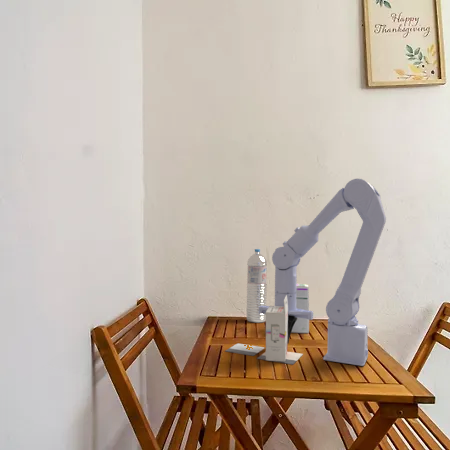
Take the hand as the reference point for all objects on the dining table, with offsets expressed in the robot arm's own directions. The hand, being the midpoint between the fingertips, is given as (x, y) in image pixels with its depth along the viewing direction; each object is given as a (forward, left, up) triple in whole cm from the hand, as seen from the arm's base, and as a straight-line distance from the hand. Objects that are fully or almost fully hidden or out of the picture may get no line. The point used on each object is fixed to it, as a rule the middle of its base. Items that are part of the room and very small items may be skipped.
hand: (284, 343), depth 105 cm
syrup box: (+2, -21, -2) cm, 21 cm away
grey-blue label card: (+9, +6, -1) cm, 11 cm away
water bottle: (+19, -27, -2) cm, 33 cm away
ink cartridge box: (0, +7, -2) cm, 7 cm away
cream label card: (-1, +7, -1) cm, 7 cm away
